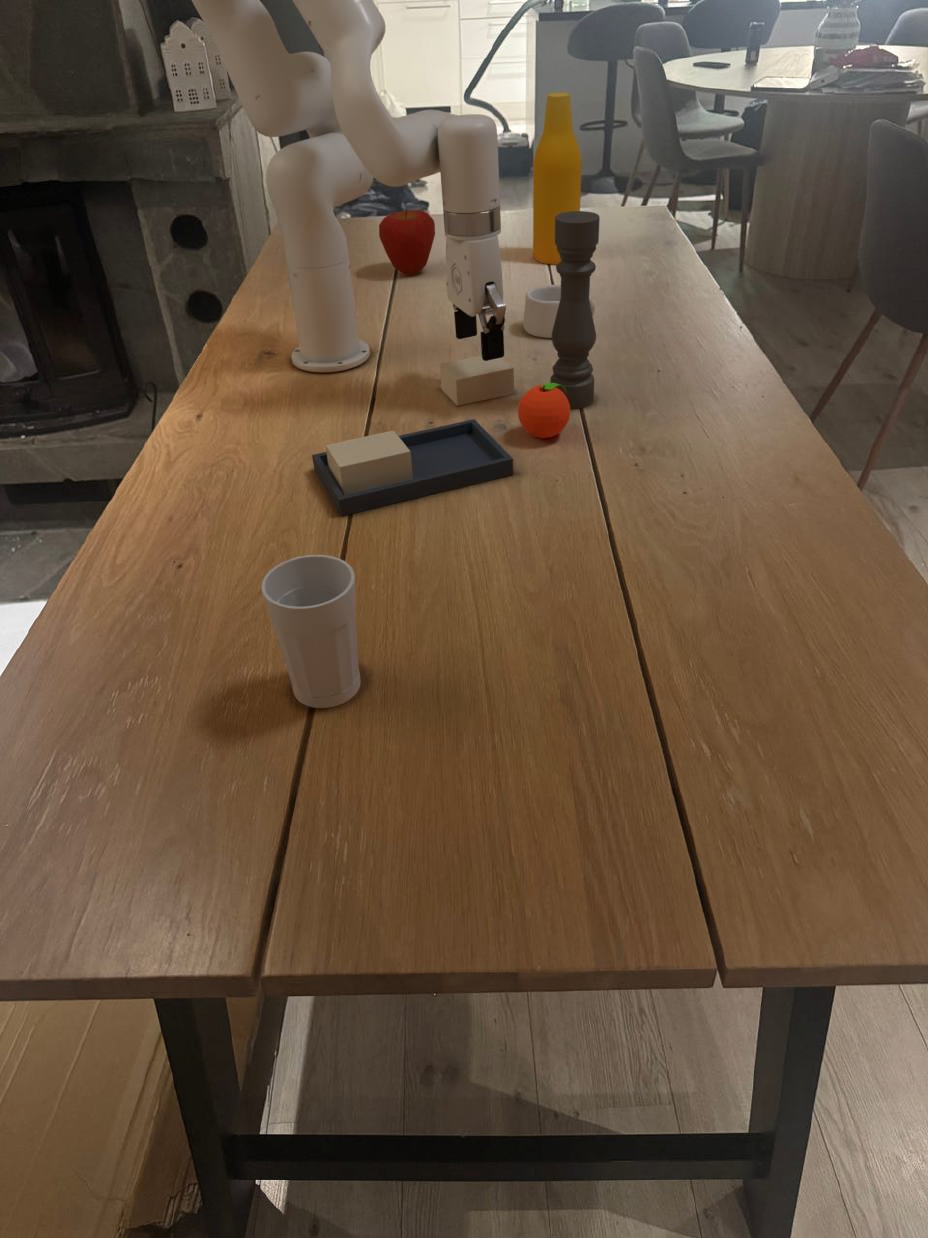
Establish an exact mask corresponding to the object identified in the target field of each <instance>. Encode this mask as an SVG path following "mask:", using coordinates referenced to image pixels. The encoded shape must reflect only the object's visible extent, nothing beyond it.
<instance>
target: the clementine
mask: <svg viewBox="0 0 928 1238" xmlns="http://www.w3.org/2000/svg"><path fill="white" fill-rule="evenodd" d="M559 385H560V384H557V383H551V382H548V383H544V384H538V385H535V386H533V387H531V388H530V389H528V390H527V391H526V392H525V393H524V395H523V396H522V397H521V399H520V401H519V404H518V409H517V414H518V421H519V422H520V424H521V427H522V428H523V429H524V431H526V432H527V434H529V435H531V436H533V437H535V438H539V439H549V438H553V437H554V436H556V435H558V434H560V433H562V431H563V430H564V429H565V428H566V426H567V424H568V422H569V420H570V416H571V409H570V404H569V402H568V399H567V397H566V396H565V394H564V393H563V392H562V391H561V390H559V389H558V388H556V386H559ZM561 386H562V387H563V388H564V390H565V392H566V388H565V387H564V386H563V385H561ZM566 394H567V392H566Z"/></svg>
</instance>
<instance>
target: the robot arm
mask: <svg viewBox="0 0 928 1238" xmlns="http://www.w3.org/2000/svg"><path fill="white" fill-rule="evenodd" d="M191 2H192V4H193V6H194V8H195V9H196V11H197V13H198V14H199V16H200V19H202V21H203V23H204V25H205V27H206V29H207V30H208V32H209V35H210V36H211V38H212V40H213V41H214V42H213V43H214V44H215V46H216V48H217V50H218V53H219V56H220V58H221V60H222V63H223V65H224V67H225V69H226V71H227V74H228V76H229V79H230V81H231V83H232V85H233V88H234V90H235V92H236V94H237V96H238V99H239V101H240V103H241V106H242V109H243V110H244V113H245V114H246V117H247V119H248V120H249V123H250V124H251V125H252V127H253V129H255V130H256V132H257V133H258V134H260V135H262V136H264V137H267V138H278V137H285V136H288V135H292V134H296V133H299V132H303V131H306V133H307V135H308V137H309V138H307V139H303V140H299V141H297V142H293V143H289V144H287V145H286V146H284V147H282V148H281V149H279V150H278V151H277V152H276V153H275V154H274V155H273V156H272V157H271V158H270V160H269V162H268V165H267V168H266V172H265V181H266V187H267V191H268V195H269V198H270V201H271V205H272V207H273V209H274V212H275V215H276V219H277V222H278V226H279V230H280V235H281V239H282V246H283V250H284V257H285V263H286V268H287V275H288V281H289V287H290V294H291V300H292V307H293V313H294V319H295V326H296V333H297V339H298V344H299V345H298V346H296V348H294V350H292V352H291V361H292V364H293V366H295V367H296V368H297V369H300V370H302V371H305V372H311V373H322V374H323V373H337V372H342V371H346V370H351V369H353V368H356V367H358V366H360V365H362V364H364V363H365V362H366V361H367V360H368V359H369V358H370V356H371V349H370V346H369V345H368V343H367V342H365V341H363V340H361V339H360V338H359V329H358V321H357V313H356V304H355V294H354V286H353V277H352V268H351V260H350V253H349V245H348V240H347V237H346V234H345V231H344V229H343V227H342V225H341V223H340V222H339V220H338V219H337V217H336V215H335V212H334V209H335V208H337V207H339V206H341V205H344V204H346V203H349V202H352V201H354V200H356V199H358V198H361V197H362V196H363V195H365V194H366V193H367V192H368V191H369V190H370V188H371V186H372V185H373V181H374V179H375V180H376V181H378V182H379V183H380V184H382V185H385V186H388V187H391V188H392V187H393V188H396V187H402V186H405V185H408V184H410V183H414V182H416V181H418V180H421V179H423V178H424V179H425V178H426V177H430V176H433V175H436V174H439V173H440V184H441V185H440V186H441V198H442V213H443V214H442V215H443V226H444V227H443V228H444V237H445V277H446V294H447V295H446V296H447V298H448V300H449V302H451V303H452V308H453V310H454V311H453V313H454V314H453V316H454V317H453V318H454V329H455V330H454V331H455V337H456V339H458V340H464V339H467V338H472V337H476V336H477V335H478V322H477V316H478V319H479V322H480V325H481V328H482V331H480V334H479V335H480V347H481V348H480V349H481V356H482V359H483V360H484V361H488V360H493V359H497V358H502V359H503V358H504V356H505V335H504V330H505V322H506V311H507V306H506V303H505V301H504V282H503V281H504V280H503V270H502V259H501V249H500V244H499V237H498V235H500V234H501V233H502V219H501V215H502V214H501V195H500V194H501V193H500V191H501V190H500V169H499V168H500V167H499V143H498V127H497V125H496V122H495V120H494V119H493V118H492V117H491V116H489V115H486V114H478V113H477V114H475V113H474V114H472V113H469V114H454V113H450V112H448V111H447V112H446V111H443V110H437V109H424V110H420V111H416V112H413V113H410V114H409V113H408V114H405V115H402V116H399V117H395V118H393V116H392V115H391V114H390V112H389V110H388V109H387V107H386V105H385V103H384V102H383V101H382V99H381V97H380V95H379V93H378V90H377V89H376V86H375V83H374V81H373V76H372V69H371V61H372V55H373V54H374V53H375V52H376V50H377V49H378V47H379V46H380V44H381V43H382V41H383V39H384V37H385V34H386V26H387V25H386V22H385V19H384V17H383V15H382V13H381V12H380V11H379V9H378V8H377V5H376V4H375V2H374V0H292V2H293V4H294V5H295V7H296V8H297V10H298V12H299V13H300V16H301V17H302V18H303V20H304V22H305V23H306V25H307V26H308V28H309V30H310V32H311V34H312V35H313V36H314V38H315V40H316V41H317V43H318V44H319V45H318V46H320V48H321V50H322V51H323V53H324V55H325V56H326V57H325V56H323V55H321V54H320V53H317V52H313V51H300V52H299V51H298V52H294V53H290V52H288V50H287V49H286V47H285V45H284V43H283V41H282V38H281V36H280V35H279V31H278V29H277V27H276V24H275V22H274V20H273V18H272V16H271V14H270V12H269V11H268V9H267V8H266V6H265V5H264V4H263V3H262V1H261V0H191ZM490 315H491V316H490ZM487 316H490V317H489V319H488V318H487Z"/></svg>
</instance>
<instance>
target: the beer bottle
mask: <svg viewBox="0 0 928 1238" xmlns="http://www.w3.org/2000/svg"><path fill="white" fill-rule="evenodd" d="M546 95H547V96H546V103H545V112H544V124H543V129H542V130H543V131H542V134H541V137H540V138H539V142H538V143H537V146H536V150H535V152H534V157H533V162H532V163H533V169H532V171H533V173H532V174H533V179H532V180H533V183H532V185H533V186H532V187H533V188H532V192H533V201H532V203H533V204H532V210H533V211H532V213H533V214H532V215H533V216H532V218H533V219H532V228H533V229H532V231H533V232H532V256H533V259H534V260H535V261H536V262H538V263H540V264H545V265H557V264H558V263H559V262H560V261H561V258H560V254H559V253H558V251H557V245H555V216H557V215H558V214H561V213H564V212H570V211H581V191H582V189H581V188H582V163H583V161H582V154H581V150H580V146H579V143H578V141H577V138H576V135H575V133H574V128H573V127H574V126H573V115H572V113H573V112H572V101H571V100H572V99H571V93H569V92H551V93H548V94H546Z"/></svg>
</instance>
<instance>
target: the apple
mask: <svg viewBox="0 0 928 1238" xmlns="http://www.w3.org/2000/svg"><path fill="white" fill-rule="evenodd" d="M378 237H379V240H380V242H381V244H382V248H383V249H384V251H385V254H386V256H387V258H388V259H389V261H390V263H391V265H392V267H393V268H394V269H395V270H396V271H398V272H400V273H401V274H402V275H405V276H416V275H419V274H420V273H421V272H422V271H423V269H424V268H425V267H426V266H427V264H428V261H429V257H430V254H431V251H432V248H433V244H434V240H435V237H436V224H435V219H433V217H432V216H431V215H430V214H429V213H428V212H426V211H424V210H420V209H411V210H409V209H408V208H405V210H403V211H399V212H398V211H397V212H394V213H390V214H388V215H386V216H384V218H382V220H381V222H380V223H379V224H378Z"/></svg>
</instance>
